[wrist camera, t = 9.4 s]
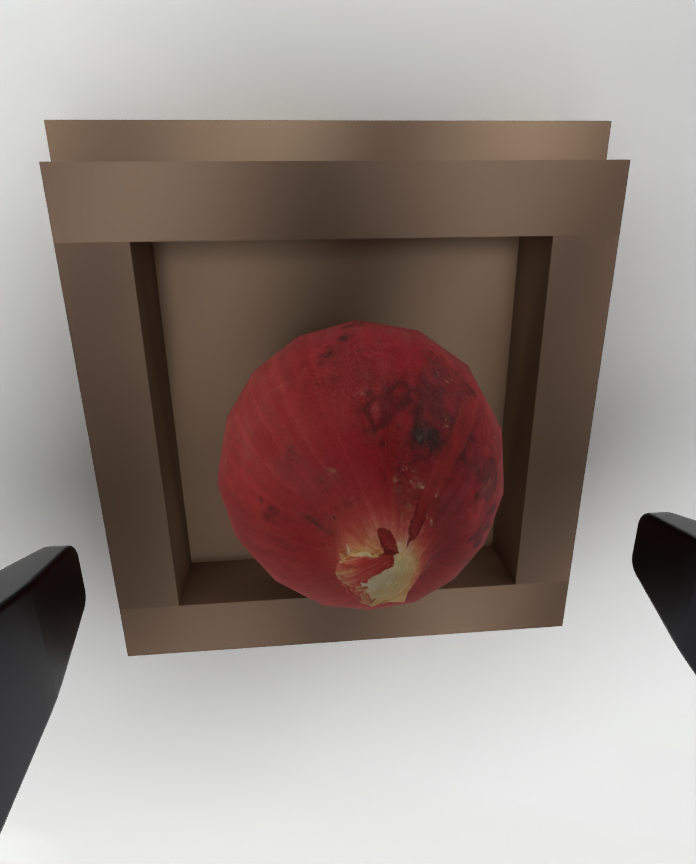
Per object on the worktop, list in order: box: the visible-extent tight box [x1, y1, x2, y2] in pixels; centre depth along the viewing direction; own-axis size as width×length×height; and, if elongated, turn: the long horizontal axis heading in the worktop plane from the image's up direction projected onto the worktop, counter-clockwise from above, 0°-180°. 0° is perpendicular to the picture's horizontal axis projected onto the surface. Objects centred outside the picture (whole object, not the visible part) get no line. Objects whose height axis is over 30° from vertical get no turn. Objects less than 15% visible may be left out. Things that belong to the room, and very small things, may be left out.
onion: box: [217, 320, 504, 610], centre depth 12 cm, size 6×6×8 cm
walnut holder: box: [39, 120, 630, 656], centre depth 15 cm, size 13×14×3 cm
